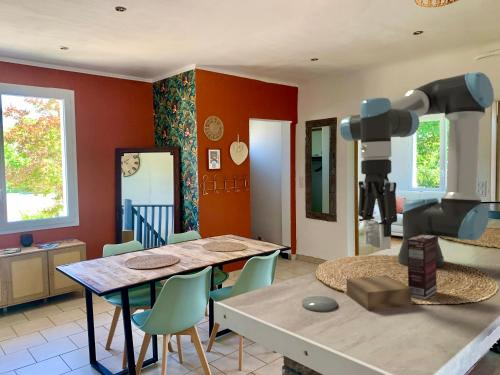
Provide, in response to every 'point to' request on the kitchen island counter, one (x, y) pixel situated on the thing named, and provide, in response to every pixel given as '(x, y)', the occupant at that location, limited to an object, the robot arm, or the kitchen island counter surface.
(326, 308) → the grey oval dome
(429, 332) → the kitchen island counter surface
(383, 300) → the walnut block
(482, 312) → the kitchen island counter surface
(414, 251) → the supplement box
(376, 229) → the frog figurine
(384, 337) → the kitchen island counter surface
